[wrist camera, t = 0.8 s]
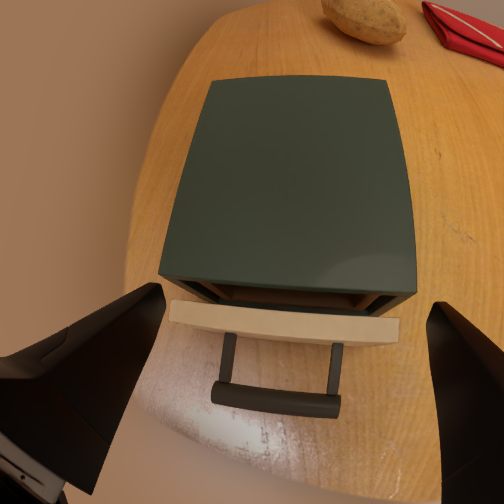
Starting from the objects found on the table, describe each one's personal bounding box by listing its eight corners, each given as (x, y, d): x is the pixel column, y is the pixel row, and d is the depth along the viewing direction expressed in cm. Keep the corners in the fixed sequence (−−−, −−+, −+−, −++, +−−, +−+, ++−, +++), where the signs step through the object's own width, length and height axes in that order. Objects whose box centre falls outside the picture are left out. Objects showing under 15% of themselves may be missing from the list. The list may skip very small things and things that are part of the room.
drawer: (361, 406, 17) (387, 430, 11) (204, 388, 20) (156, 400, 13) (369, 179, 23) (384, 119, 16) (237, 174, 25) (213, 117, 19)
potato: (378, 18, 33) (379, -28, 24) (409, 63, 28) (418, 5, 20) (319, 17, 35) (314, -31, 26) (337, 60, 30) (335, -3, 21)
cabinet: (376, 318, 20) (417, 293, 12) (212, 304, 23) (156, 274, 15) (371, 155, 25) (386, 79, 16) (238, 151, 27) (211, 80, 19)
